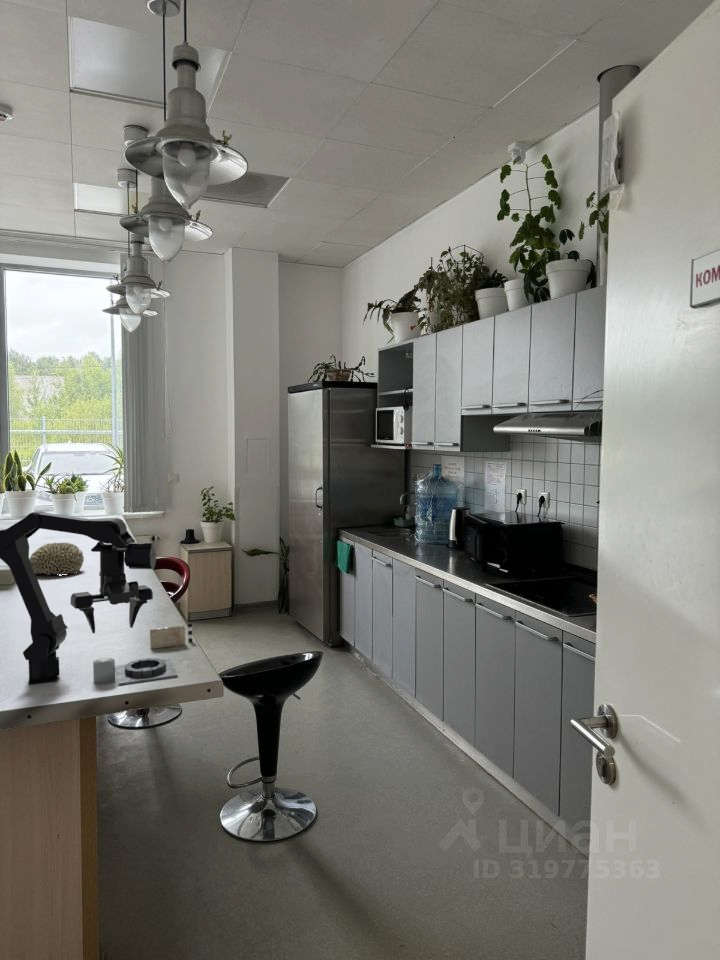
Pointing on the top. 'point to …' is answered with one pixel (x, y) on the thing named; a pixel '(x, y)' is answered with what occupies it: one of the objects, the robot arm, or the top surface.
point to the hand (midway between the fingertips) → (112, 630)
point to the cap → (104, 671)
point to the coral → (57, 559)
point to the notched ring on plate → (145, 671)
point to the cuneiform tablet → (169, 636)
